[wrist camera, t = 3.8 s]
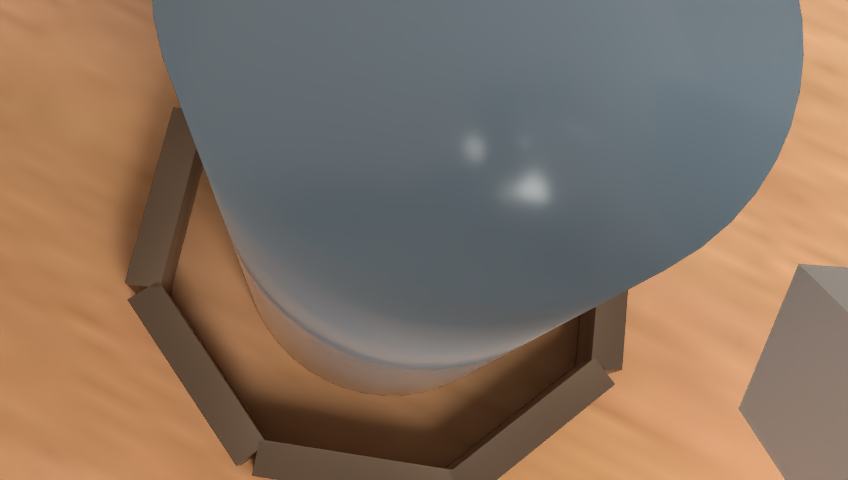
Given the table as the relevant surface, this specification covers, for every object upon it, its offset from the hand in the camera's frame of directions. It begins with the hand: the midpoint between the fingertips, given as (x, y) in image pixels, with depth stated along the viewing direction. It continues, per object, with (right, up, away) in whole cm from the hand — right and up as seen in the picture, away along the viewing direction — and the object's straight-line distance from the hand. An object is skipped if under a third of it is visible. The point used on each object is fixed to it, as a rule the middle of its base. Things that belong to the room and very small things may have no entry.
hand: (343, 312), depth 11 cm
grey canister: (0, +2, +10) cm, 10 cm away
